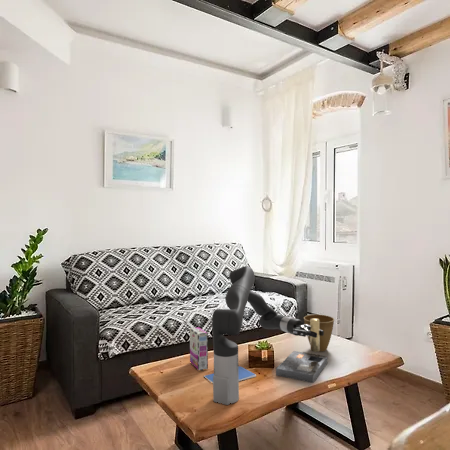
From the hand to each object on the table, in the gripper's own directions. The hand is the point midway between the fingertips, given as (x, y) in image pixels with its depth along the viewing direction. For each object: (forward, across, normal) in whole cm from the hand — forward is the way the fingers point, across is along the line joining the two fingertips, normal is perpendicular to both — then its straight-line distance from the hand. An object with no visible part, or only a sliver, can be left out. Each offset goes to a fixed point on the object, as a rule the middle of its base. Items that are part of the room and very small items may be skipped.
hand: (319, 334), depth 170 cm
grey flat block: (-4, -7, +15) cm, 17 cm away
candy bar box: (-35, -42, +15) cm, 57 cm away
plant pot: (-15, +18, +15) cm, 28 cm away
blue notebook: (-17, -38, +16) cm, 44 cm away
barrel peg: (-3, 0, +8) cm, 8 cm away
